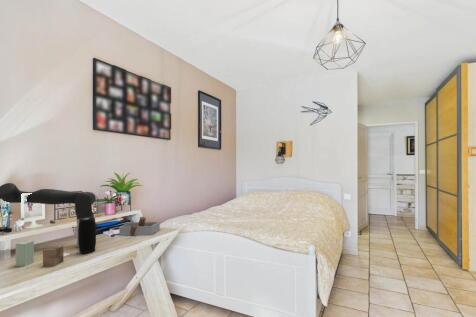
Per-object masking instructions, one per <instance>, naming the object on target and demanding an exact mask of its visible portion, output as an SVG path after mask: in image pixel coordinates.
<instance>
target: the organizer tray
mask: <svg viewBox="0 0 476 317" xmlns="http://www.w3.org/2000/svg"><path fill="white" fill-rule="evenodd" d="M135 224H137V225H138V224H139V221H138V222H137V221H133V222H131V221H130V222H128V223H125V224H123V225H120V226H119V228H118V229H119V231H118V232H119V233H118V234H119V236H120V237H121V236H122V237H123V236H132V235H131V234H130V230H131V226H133V225H135ZM160 224H161V222H160V221H145V224H144V226H141V227H137V228H136V231H135V233H134V235H133V236H153V235H154V234H156V233H157V232H158V231H160V229H161V226H160ZM148 225H150V226H148Z"/></svg>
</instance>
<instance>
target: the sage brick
mask: <svg viewBox="0 0 476 317" xmlns="http://www.w3.org/2000/svg"><path fill="white" fill-rule="evenodd" d="M34 242H35V241H34V240H24V241H21V242H18V243H15V267H26V265H27V266H28V265H31V264H33V263H34V260H35V259H34V258H35V257H34V255H35V250H34V249H35V246H34V245H35V243H34Z"/></svg>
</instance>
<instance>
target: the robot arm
mask: <svg viewBox="0 0 476 317" xmlns="http://www.w3.org/2000/svg"><path fill="white" fill-rule="evenodd" d="M22 193H32V194H30V195H28V197H27V202H28V203H27V204H42V205H65V204H66V205H67V204H73V205H74V211H75V213H74V214H75V216H76V247H77V248H79V246H78V245H79V243H78V227H79V221H80V218H85V217H89V216H91V217H94V216H95V214H94V211H93V209H92V208H93V207H92V205H93V204H94V203H95V202H96V199H97V198H96V195H95V194H94V193H92V192H91V191H67V190H63V189H52V188H41V189H37V190H35V191H24V190H23V191H22V190H20V189H19V188H18V187H17V185H16V184H15V183H13V182H7V183H4V184H1V185H0V200H2V201H3V202H5V201H6V202H5V203H7V202H9V203H8V204H16V203H17V204H19V203H21V194H22ZM94 218H95V217H94ZM12 231H13V228H12V227H8V226H0V234H2V233H4V234H5V233H12Z"/></svg>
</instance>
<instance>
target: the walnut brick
mask: <svg viewBox="0 0 476 317" xmlns="http://www.w3.org/2000/svg"><path fill="white" fill-rule="evenodd" d="M63 253H64V245H57V246H56V245H52V246H49V247H46V248H45V249H42V258H43V259H42V267H56V266H58V265H59V264H61V263H64V257H63Z"/></svg>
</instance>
